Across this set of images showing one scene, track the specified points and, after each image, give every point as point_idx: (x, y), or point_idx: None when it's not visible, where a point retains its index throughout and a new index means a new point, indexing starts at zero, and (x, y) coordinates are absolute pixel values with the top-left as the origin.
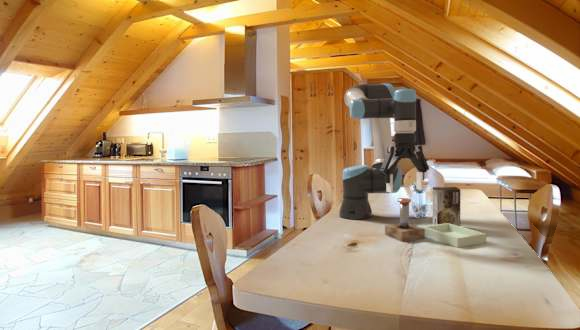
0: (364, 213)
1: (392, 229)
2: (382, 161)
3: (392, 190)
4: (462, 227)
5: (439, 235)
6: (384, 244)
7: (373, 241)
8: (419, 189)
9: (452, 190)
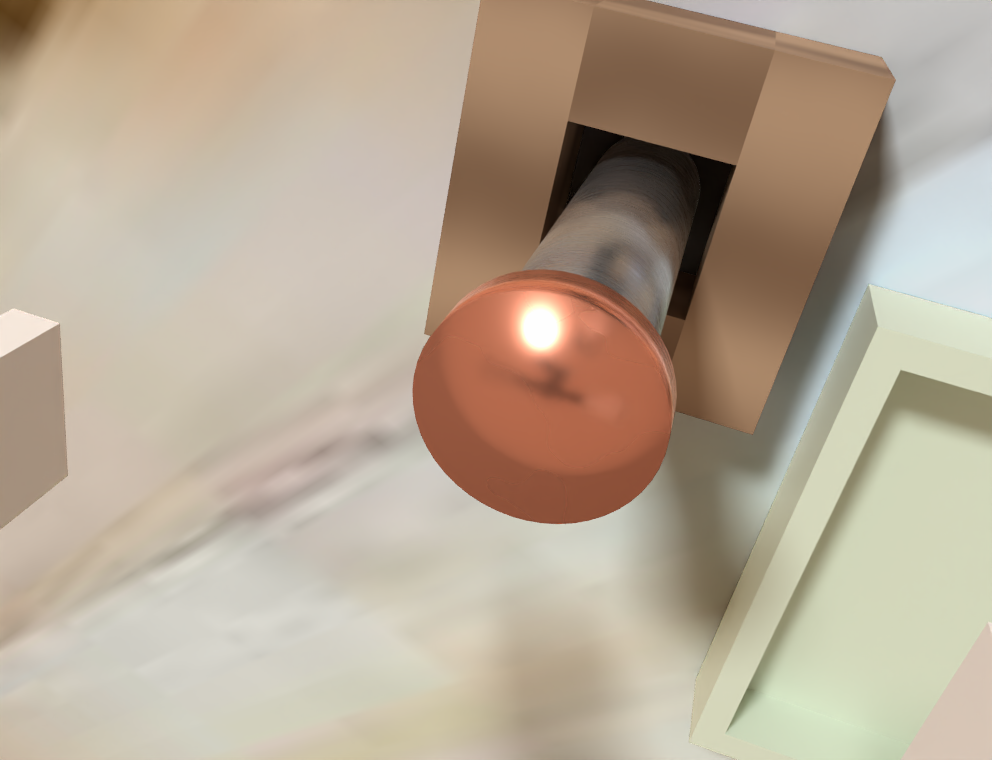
0: None
1: (456, 155)
2: None
3: (29, 498)
4: None
5: (764, 558)
6: (258, 226)
7: (227, 82)
8: (929, 718)
9: None
